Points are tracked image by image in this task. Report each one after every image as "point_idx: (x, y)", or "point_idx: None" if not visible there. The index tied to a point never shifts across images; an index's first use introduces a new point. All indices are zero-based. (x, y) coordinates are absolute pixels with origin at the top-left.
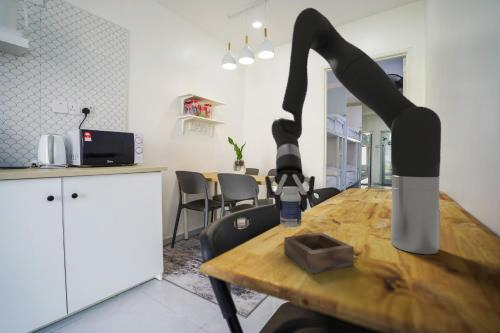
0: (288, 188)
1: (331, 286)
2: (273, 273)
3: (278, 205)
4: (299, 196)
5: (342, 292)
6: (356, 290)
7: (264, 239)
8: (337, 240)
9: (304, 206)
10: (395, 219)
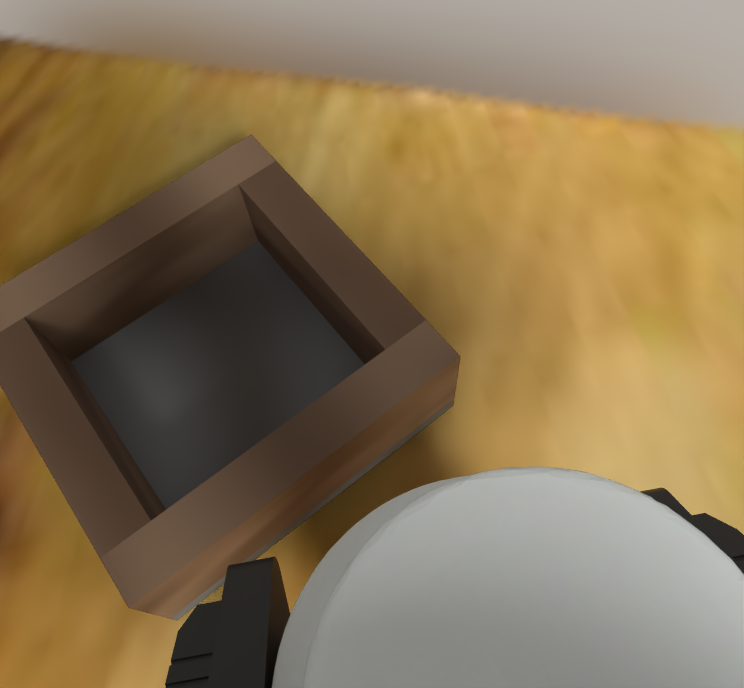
0: (555, 472)
1: (194, 136)
2: (456, 157)
3: (657, 496)
4: (297, 658)
5: (159, 112)
6: (99, 138)
7: None
8: (30, 411)
9: (235, 565)
10: None
